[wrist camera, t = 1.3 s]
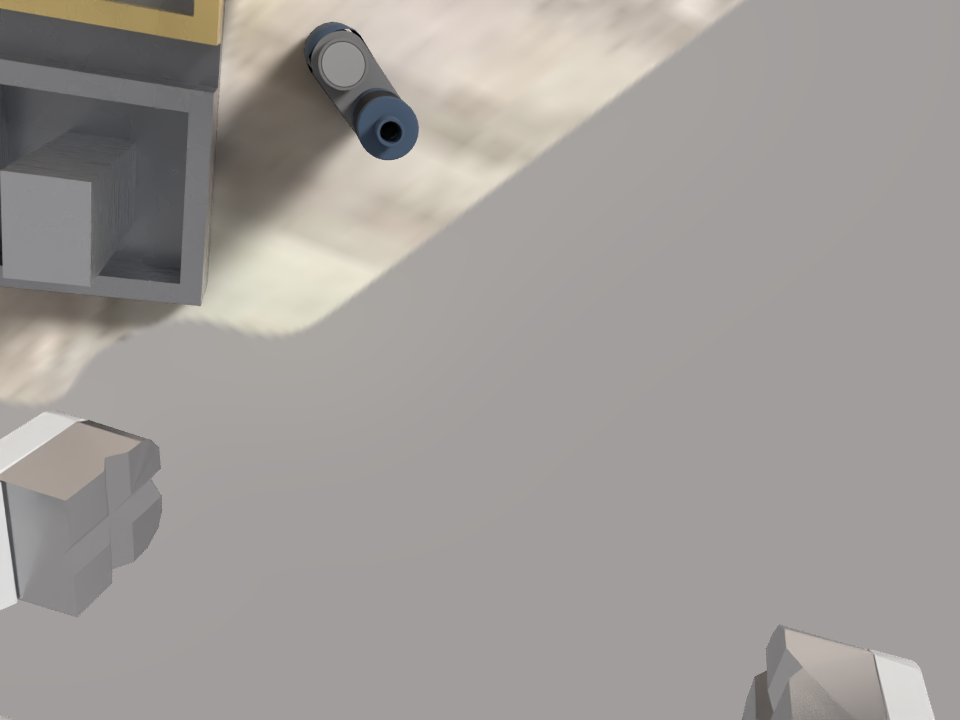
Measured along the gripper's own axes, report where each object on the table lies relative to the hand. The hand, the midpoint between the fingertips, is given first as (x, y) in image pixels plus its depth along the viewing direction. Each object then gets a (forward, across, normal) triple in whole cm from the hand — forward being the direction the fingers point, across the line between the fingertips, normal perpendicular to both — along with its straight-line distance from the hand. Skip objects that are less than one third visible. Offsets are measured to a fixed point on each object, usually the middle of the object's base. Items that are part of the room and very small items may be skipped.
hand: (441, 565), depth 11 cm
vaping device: (+32, +15, 0) cm, 36 cm away
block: (+26, +24, +6) cm, 36 cm away
